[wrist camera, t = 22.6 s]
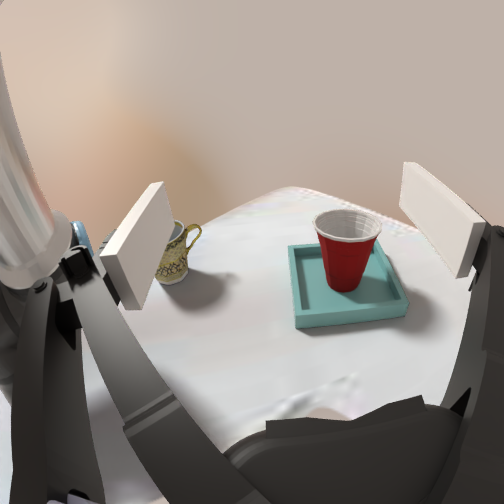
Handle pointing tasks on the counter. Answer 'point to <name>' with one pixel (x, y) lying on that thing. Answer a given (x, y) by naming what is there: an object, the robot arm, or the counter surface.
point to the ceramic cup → (175, 255)
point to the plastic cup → (346, 245)
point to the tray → (337, 303)
